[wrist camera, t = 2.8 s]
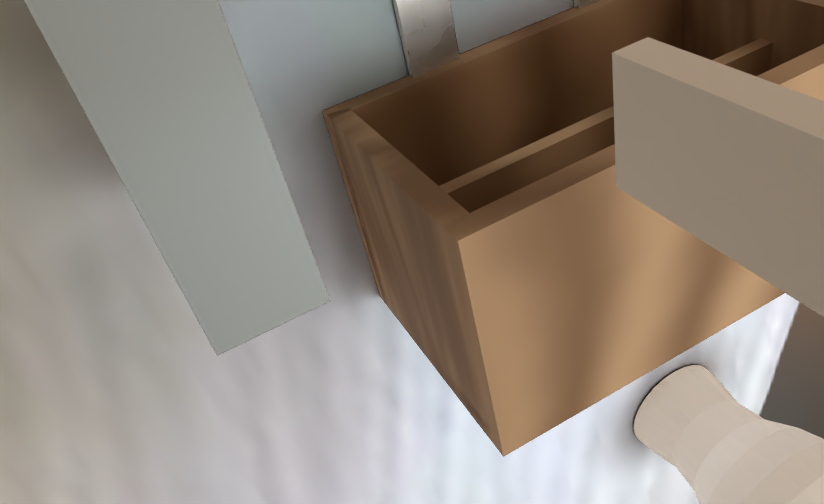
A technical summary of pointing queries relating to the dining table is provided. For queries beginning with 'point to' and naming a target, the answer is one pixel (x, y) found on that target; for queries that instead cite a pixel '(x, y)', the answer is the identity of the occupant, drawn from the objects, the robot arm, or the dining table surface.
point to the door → (190, 155)
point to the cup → (728, 444)
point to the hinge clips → (432, 33)
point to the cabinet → (550, 207)
